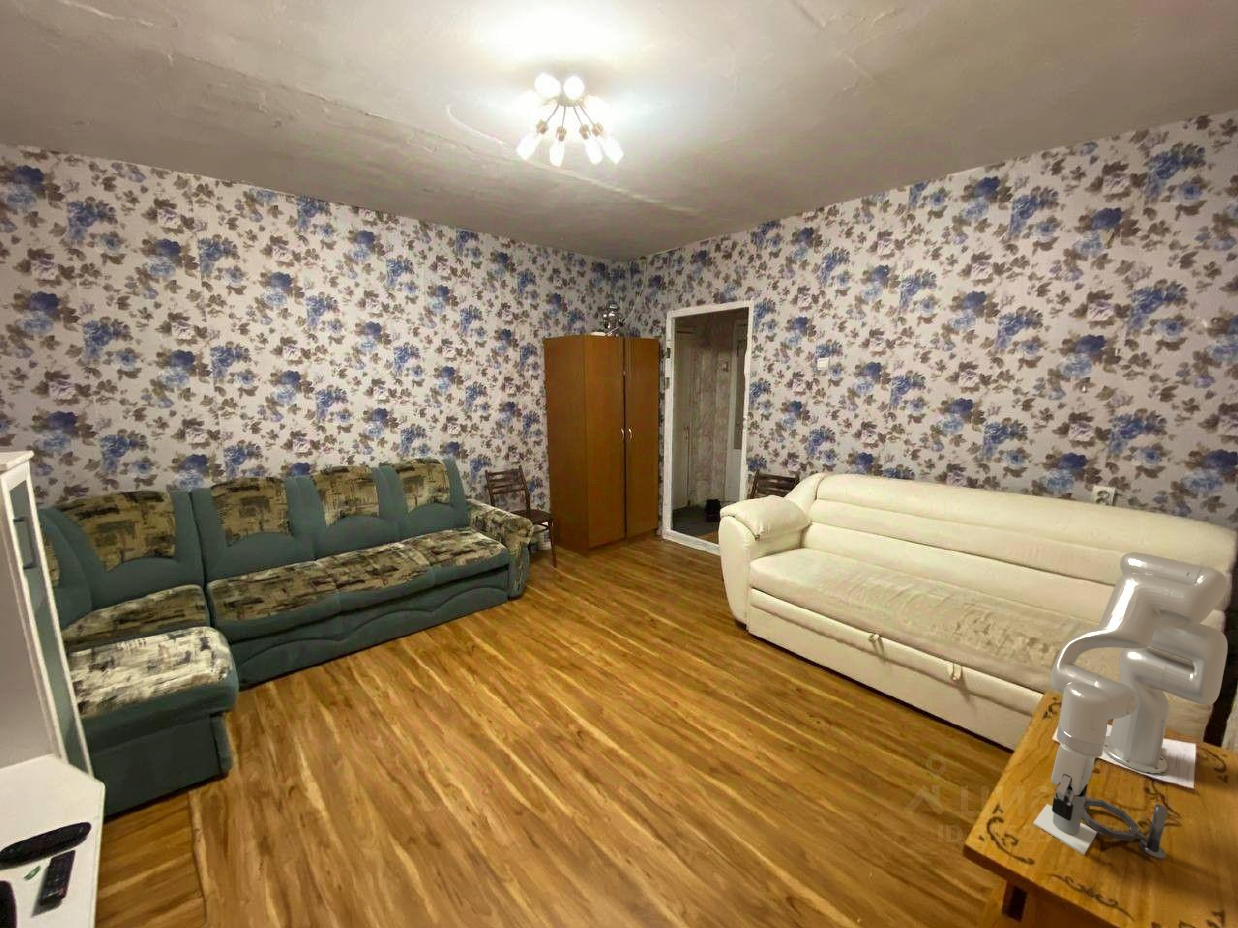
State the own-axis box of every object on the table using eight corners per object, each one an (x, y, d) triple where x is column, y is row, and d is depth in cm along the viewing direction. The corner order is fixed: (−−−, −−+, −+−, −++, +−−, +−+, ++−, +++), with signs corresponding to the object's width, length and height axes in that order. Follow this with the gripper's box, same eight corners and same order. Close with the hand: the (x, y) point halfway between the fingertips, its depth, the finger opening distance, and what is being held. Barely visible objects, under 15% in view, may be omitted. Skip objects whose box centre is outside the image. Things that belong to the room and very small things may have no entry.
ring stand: (1084, 800, 121) (1091, 761, 119) (1170, 845, 109) (1179, 803, 107) (1071, 820, 116) (1078, 779, 114) (1160, 870, 104) (1169, 826, 102)
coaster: (1046, 805, 120) (1047, 803, 120) (1096, 833, 112) (1097, 831, 112) (1032, 824, 115) (1033, 822, 115) (1084, 855, 107) (1084, 852, 107)
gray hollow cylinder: (1083, 836, 111) (1090, 797, 109) (1060, 833, 112) (1067, 794, 110) (1070, 819, 115) (1076, 781, 113) (1047, 816, 116) (1054, 778, 114)
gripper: (1070, 714, 117) (1060, 776, 120) (1044, 745, 108) (1033, 811, 111) (1114, 732, 111) (1102, 798, 114) (1090, 767, 101) (1077, 837, 105)
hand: (1068, 804), depth 112 cm, fingers open, 9 cm apart
